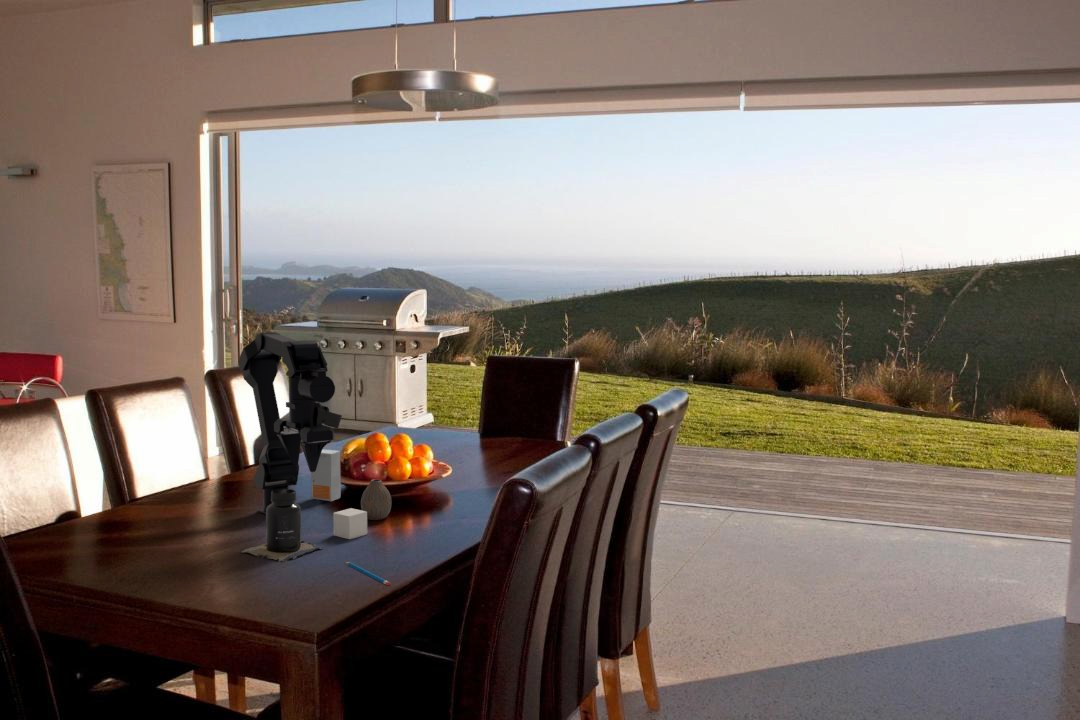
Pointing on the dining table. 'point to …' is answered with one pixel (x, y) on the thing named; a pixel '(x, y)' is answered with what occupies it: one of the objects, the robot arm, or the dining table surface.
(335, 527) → the cream ceramic block
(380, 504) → the vase
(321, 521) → the dining table surface
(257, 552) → the parchment
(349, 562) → the pencil
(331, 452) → the skincare box
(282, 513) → the supplement bottle
